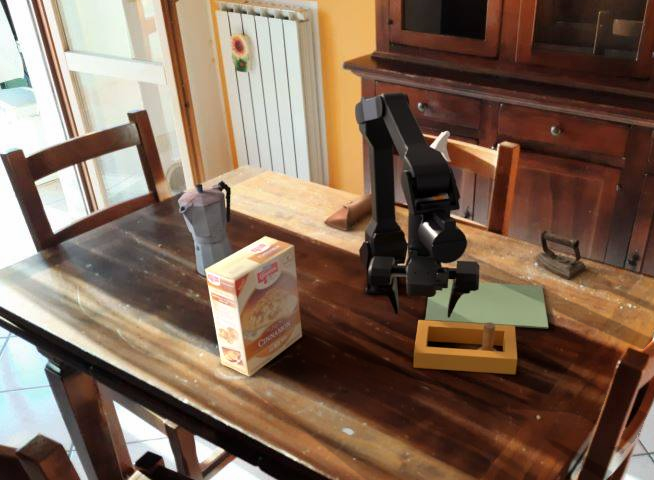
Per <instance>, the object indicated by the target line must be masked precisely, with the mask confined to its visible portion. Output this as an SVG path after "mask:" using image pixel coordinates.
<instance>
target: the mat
mask: <svg viewBox="0 0 654 480" xmlns="http://www.w3.org/2000/svg"><path fill="white" fill-rule="evenodd" d="M452 284H453V280H448V288H443V289H442V291H440V290H436V294H435V296H433V297H427V303H426V311H425V318H424V320H429V321H445V322H461V323H477V324H485V323H487V322H491V323H494V324H495V325H510V326H515V328H528V329H529V328H531V329H546V330H548V329H549V321H548V314H547V309H546V302H545V296H544V289H543V285H535V284H519V283H517V284H516V283H500V282H499V283H498V282H481V281H479V289H478V290H476V291H470V293H469V294H463V295H462V296H461V297H460V298H459V300H458V301H457V303H456V305H455V307H454V309H453V312H452V314H451V316H450V318H449V317H448V305H449V299H450V294H451V289H452Z"/></svg>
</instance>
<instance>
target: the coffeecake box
mask: <svg viewBox="0 0 654 480" xmlns="http://www.w3.org/2000/svg"><path fill="white" fill-rule="evenodd" d="M205 272H206V276H205V277H206V284H207V287H208V288H207V289H208V293H209V299H210V304H211V310H212V316H213V322H214V327H215V334H216V339H217V344H218V350H219V356H220V361H221V365H223V366H225V367H227V368H230V369H232V370H235V371H236V372H238V373H240V374H242V375H245V376H247V377H252V376H253V375H254V374H256V373H257V372H258V371H259V370H260V369H262V368H263V367H264V366H266V365H267V364H268V363H270V362H271V361H272V360H274V359H275V358H276V357H277V356H279V355H280V354H281V353H283V352H284V351H285V350H286V349H288V348H289V347H290V346H292V345H293V344H294V343H295V342H297V341H298V340H300V339H301V338H302V337H303V331H302V320H301V311H300V298H299V286H298V275H297V263H296V254H295V245H294V244H291V243H289V242H285V241H282V240H278V239H276V238H272V237H269V236H267V235H264V236H263V237H261V238H260V239H258V240H256V241H254V242H252V243H251V244H249V245H246V246H245V247H243V248H242V249H240V250H237V251H235V252H234V254H232V255H231V256H229V257H227V258H225V259H223V260H221V261H220V262H218V263H216V264H214V265H212V266H211V267H209V268H207V269H205Z"/></svg>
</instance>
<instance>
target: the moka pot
mask: <svg viewBox="0 0 654 480" xmlns="http://www.w3.org/2000/svg"><path fill="white" fill-rule="evenodd" d="M194 187H195V189H193V190H190V191H187V192H184V193H182V194H181V196H180V197H179V199H178V200H177V203H178V205H179V213H180V214H182V216H183V218H184V221H185V223H186V226H187V228H188V231H189V232H190V233H191V235H192V239H193V241H194V252H195V253H194V254H195V261H196V271H197V273H199V274H200V275H201V276H204V277H206V272H205V269H207V268H209V267H211V266H212V265H214V264H216V263H218V262H220V261H221V260H223V259H225V258H227V257H229V256H231V255H232V254H234V253H235V252H234V249H233V246H232V244H231V242H230V239H229V236H228V233H227V232H228V231H227V225H228V223H229V222H230V221H231V197H232V196H231V194H232V191H231V187H230V186H229V185H228V184H227V183H226V182H224V181H223V180H221V181H220V182H218V184H214V185H212V186H211V187H203V184H202V183H197V184H195V185H194ZM224 190H225V193H224V192H223V191H224Z"/></svg>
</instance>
